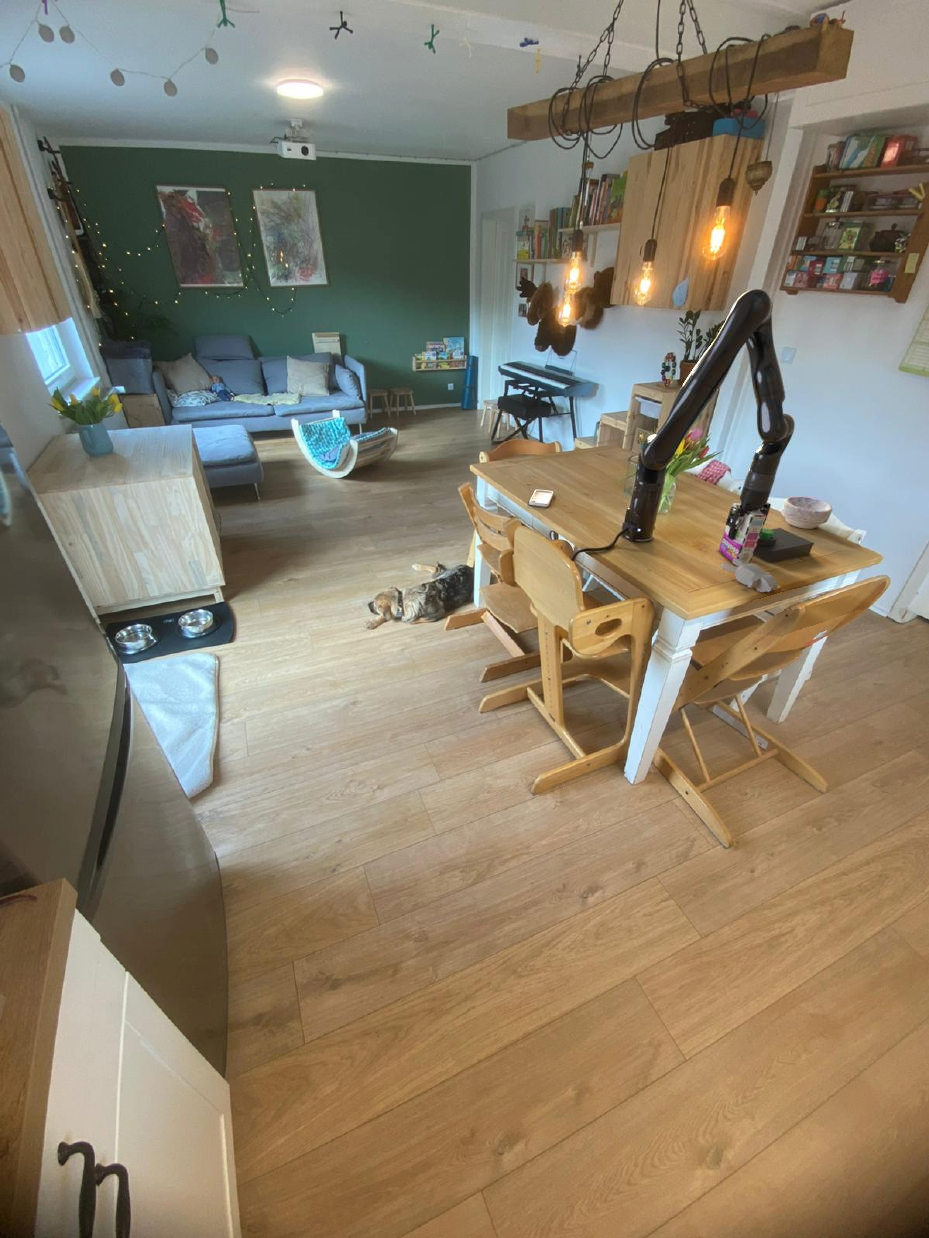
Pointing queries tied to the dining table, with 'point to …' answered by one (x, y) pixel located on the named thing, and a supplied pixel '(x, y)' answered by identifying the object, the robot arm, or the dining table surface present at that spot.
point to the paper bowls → (805, 512)
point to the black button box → (782, 546)
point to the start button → (766, 533)
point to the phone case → (541, 498)
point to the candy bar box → (743, 537)
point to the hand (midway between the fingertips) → (741, 536)
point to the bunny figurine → (752, 576)
